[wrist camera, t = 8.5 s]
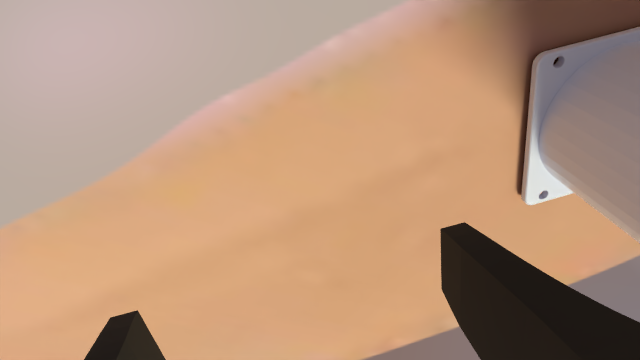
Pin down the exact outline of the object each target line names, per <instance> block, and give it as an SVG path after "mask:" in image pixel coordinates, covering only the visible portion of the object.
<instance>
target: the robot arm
mask: <svg viewBox="0 0 640 360" xmlns="http://www.w3.org/2000/svg"><path fill="white" fill-rule="evenodd" d="M557 57H559V59H558V61H557V63H556V64H555V65H553V63H554V60H555V59H556V58H557ZM542 191H543V192H542ZM541 192H542V193H541ZM540 193H541V194H540ZM572 193H575V194H576V195H578V196H579V197H580V198H581V199H583V200H584V201H585V202H587V203H588V204H589V205H591V206H592V207H593V208H594V209H596V210H597V211H598V212H600V213H601V214H602V215H604V216H605V217H606V218H607V219H609V220H610V221H611V222H613V223H614V224H615V225H617V226H618V227H619V228H620V229H622V230H623V231H624V232H626V233H627V234H628V235H630V236H631V237H632V238H633V239H635V240H636V241H637V242H639V243H640V27H636V28H632V29H629V30H625V31H621V32H617V33H613V34H609V35H605V36H602V37H598V38H594V39H590V40H586V41H582V42H578V43H575V44H571V45H567V46H563V47H559V48H555V49H551V50H548V51H544V52H542V53H540V54H539V55H538V56H536V58H535V59H534V61H533V65H532V75H531V87H530V99H529V111H528V123H527V135H526V147H525V159H524V171H523V183H522V195H521V197H522V200H523V201H524V202H525V203H526V204H527V205H534V204H538V203H541V202H544V201H548V200H551V199H555V198H558V197H562V196H565V195H569V194H572ZM441 277H442V291H443V293H444V295H445V297H446V299H447V301H448V303H449V305H450V308H451V310H452V312H453V314H454V316H455V318H456V320H457V322H458V324H459V326H460V327H461V329H462V330H463V332H464V334H465V335H466V337H467V339H468V340H469V342H470V343H471V345H472V346H473V348H474V350H475V351H476V352H477V354H478V356H479V357H480V359H481V360H640V323H639V322H637V321H635V320H633V319H631V318H629V317H627V316H625V315H622V314H620V313H618V312H616V311H614V310H612V309H610V308H608V307H606V306H604V305H602V304H600V303H598V302H596V301H594V300H592V299H591V298H589V297H587V296H585V295H583V294H581V293H579V292H578V291H576V290H574V289H572V288H570V287H568V286H566V285H565V284H563V283H561V282H559V281H558V280H556V279H554V278H552V277H551V276H549V275H547V274H546V273H544V272H542V271H541V270H539V269H537V268H536V267H534V266H532V265H531V264H529V263H527V262H526V261H524V260H523V259H521V258H519V257H518V256H516V255H515V254H513V253H512V252H510V251H508V250H507V249H505V248H504V247H502V246H501V245H499V244H497V243H496V242H494V241H493V240H491V239H490V238H488V237H487V236H485V235H484V234H482V233H480V232H479V231H477V230H476V229H474V228H473V227H471V226H470V225H468V224H466V223H465V222H464V223H461V224H457V225H453V226H449V227H446V228H442V229H441ZM84 360H165V358H164V356H163V354H162V353H161V351H160V349H159V347H158V345H157V344H156V342H155V340H154V338H153V337H152V335H151V333H150V331H149V330H148V328H147V326H146V324H145V323H144V321H143V319H142V317H141V315H140V314H139V312H138V310H137V311H134V312H130V313H126V314H122V315H119V316H115V317H111V318H110V319H109V321H108V322H107V324H106V325H105V327H104V329H103V330H102V332H101V333H100V335H99V336H98V338H97V340H96V341H95V343H94V344H93V346H92V348H91V349H90V351H89V352H88V354H87V356H86V357H85V359H84Z"/></svg>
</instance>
